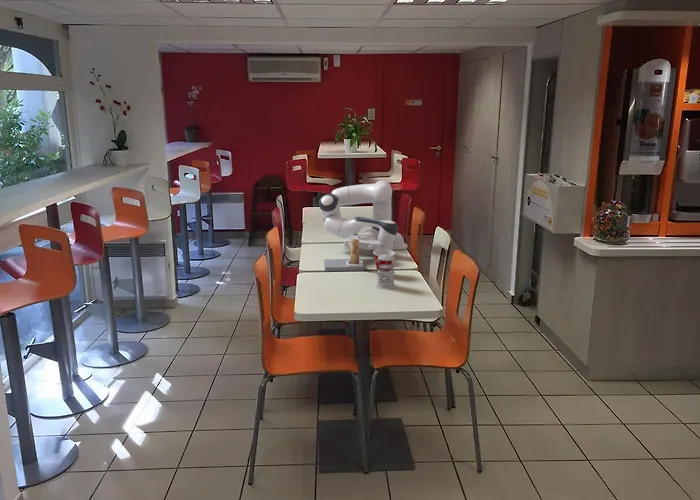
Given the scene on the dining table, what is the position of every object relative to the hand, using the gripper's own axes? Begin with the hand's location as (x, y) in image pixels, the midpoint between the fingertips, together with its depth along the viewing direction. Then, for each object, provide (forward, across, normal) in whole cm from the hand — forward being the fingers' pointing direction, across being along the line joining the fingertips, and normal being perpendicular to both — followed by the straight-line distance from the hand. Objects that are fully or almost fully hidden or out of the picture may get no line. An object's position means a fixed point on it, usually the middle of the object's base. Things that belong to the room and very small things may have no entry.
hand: (358, 247), depth 306 cm
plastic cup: (+14, -17, -9) cm, 24 cm away
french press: (+31, -22, -9) cm, 39 cm away
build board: (+5, +6, -10) cm, 13 cm away
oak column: (+6, 0, -8) cm, 10 cm away
